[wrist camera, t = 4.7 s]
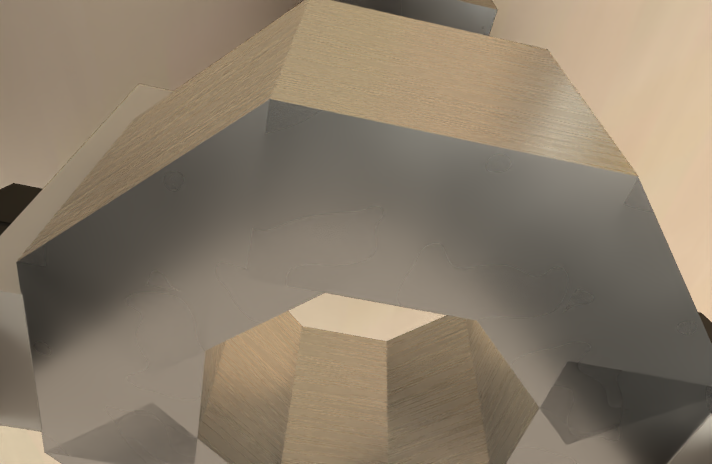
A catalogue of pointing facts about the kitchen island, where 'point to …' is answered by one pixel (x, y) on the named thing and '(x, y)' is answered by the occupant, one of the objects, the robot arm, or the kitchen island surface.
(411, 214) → the ring
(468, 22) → the stand
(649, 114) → the kitchen island surface
